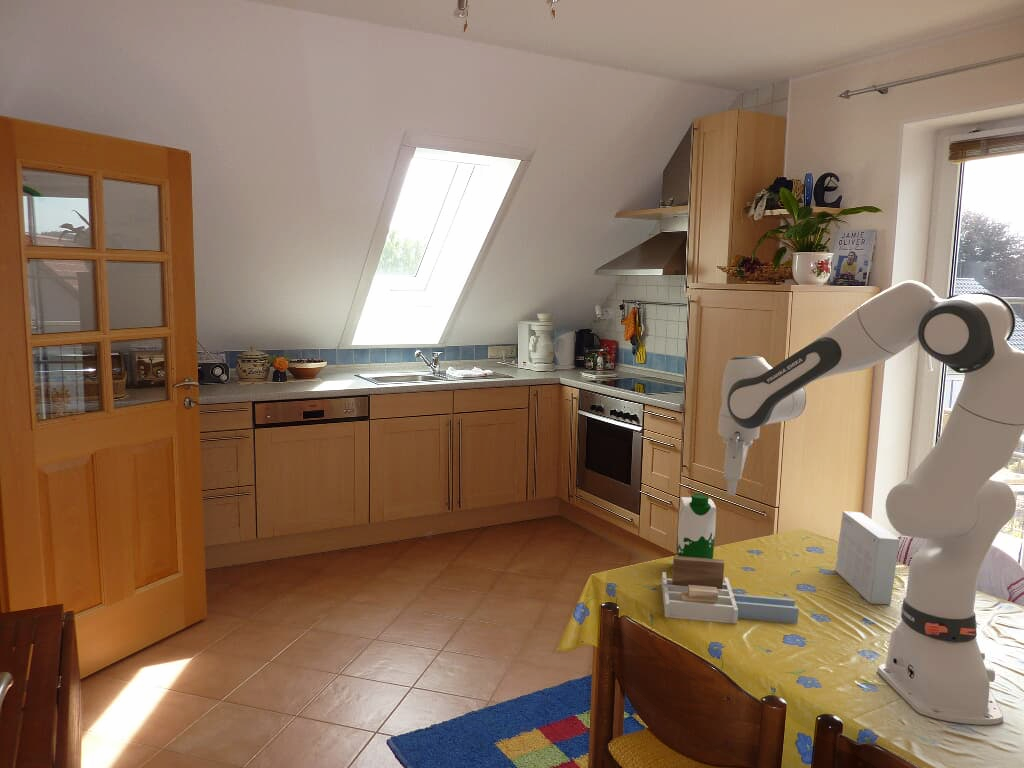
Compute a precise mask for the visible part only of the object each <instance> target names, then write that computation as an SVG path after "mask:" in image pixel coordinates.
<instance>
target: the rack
mask: <svg viewBox="0 0 1024 768" xmlns="http://www.w3.org/2000/svg"><path fill="white" fill-rule="evenodd" d="M661 573H662V574H661V592H662V602H663V611H664V617H665V618H673V619H683V620H692V621H694V620H695V621H705V622H714V623H715V622H716V623H726V624H738V619H739V618H738V608H737V605H736V602H735V599H734V595H733V594H734V593H733V590H732V587H731V583H730V581H729V578H728V577H726V576H725V577H724V576H723V587H722V589H717V590H718V601H715V603H718V604H708V603H697V602H686V601H680V600H681V592H687V593H688V586H679V585H672V578H667V572H666V571H661Z"/></svg>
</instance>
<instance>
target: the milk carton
mask: <svg viewBox="0 0 1024 768" xmlns="http://www.w3.org/2000/svg"><path fill="white" fill-rule="evenodd" d="M679 505H680V506H679V509H678V511H679V512H678V526H677V527H678V528H677V538H676V539H677V542H676V543H677V544H676V554H677V555H676V556H682V557H695V558H707V559H714V553H715V552H714V548H715V535H716V521H717V520H716V519H717V518H716V517H717V506H716V504H715V503H714V501H713V500H712V498H709V495H706V494H704V493H703V494H702V493H693V494H692V495H691V497H690V496H689V497H687V496H686V497H685V496H681V497H680V504H679Z"/></svg>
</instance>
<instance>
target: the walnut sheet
mask: <svg viewBox="0 0 1024 768" xmlns="http://www.w3.org/2000/svg"><path fill="white" fill-rule="evenodd" d="M724 569H725V561H724V559H716V558H713V559H707V558H695V557H682V556H677V555H673V561H672V578H671V579H672V585H679V586H688V585H697V586H708V587H717V589H722V587H723V583H724V574H725V573H724V571H725V570H724Z"/></svg>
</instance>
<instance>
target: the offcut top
mask: <svg viewBox="0 0 1024 768" xmlns="http://www.w3.org/2000/svg"><path fill="white" fill-rule="evenodd" d="M688 595H689V598H693V599H704V600H715V601H718V590H717V587H708V586H697V585H688Z"/></svg>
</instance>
